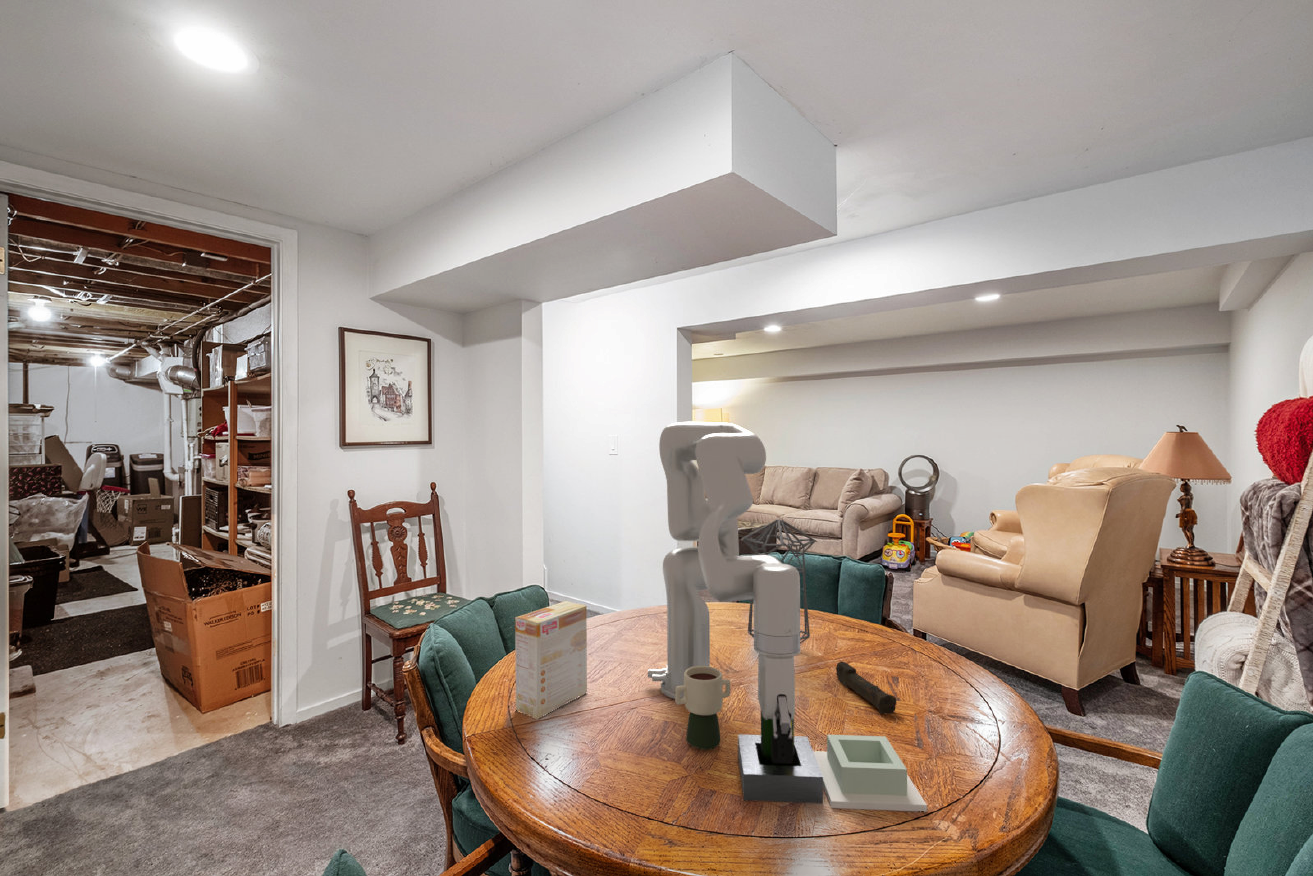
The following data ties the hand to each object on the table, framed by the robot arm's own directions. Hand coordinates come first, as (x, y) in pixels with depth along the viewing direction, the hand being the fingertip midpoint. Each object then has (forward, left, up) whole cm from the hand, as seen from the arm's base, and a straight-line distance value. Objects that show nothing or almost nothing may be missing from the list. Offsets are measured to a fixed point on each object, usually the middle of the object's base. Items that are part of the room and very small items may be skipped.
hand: (777, 746), depth 92 cm
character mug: (-12, +10, -6) cm, 17 cm away
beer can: (0, 0, -6) cm, 6 cm away
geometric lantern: (+9, +59, -6) cm, 60 cm away
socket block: (0, 0, -5) cm, 5 cm away
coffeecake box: (-44, +25, -6) cm, 51 cm away
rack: (+14, 0, -5) cm, 15 cm away
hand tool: (+22, +33, -6) cm, 40 cm away
